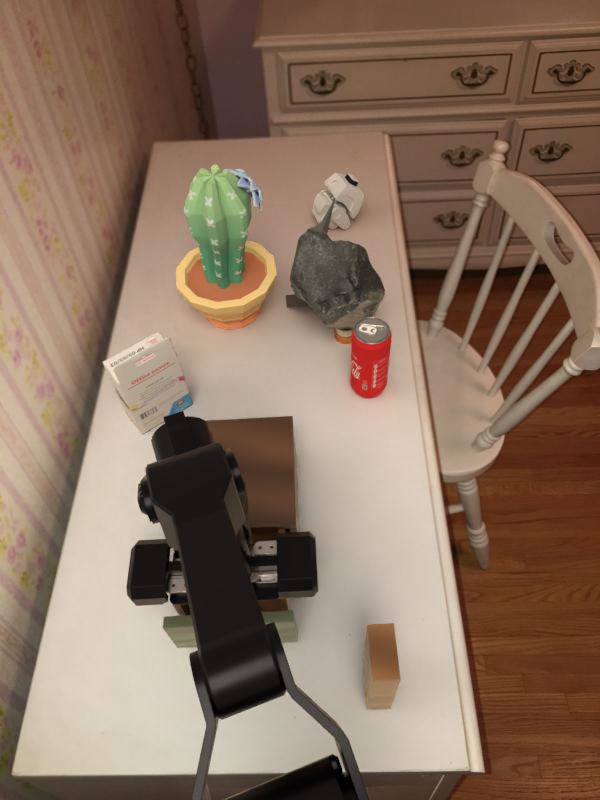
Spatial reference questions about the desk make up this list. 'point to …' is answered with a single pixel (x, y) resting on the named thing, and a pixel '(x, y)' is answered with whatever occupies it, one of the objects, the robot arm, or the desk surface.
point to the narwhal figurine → (334, 280)
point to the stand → (380, 666)
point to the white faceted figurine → (339, 200)
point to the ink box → (149, 381)
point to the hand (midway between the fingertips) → (234, 596)
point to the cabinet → (264, 467)
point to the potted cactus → (224, 250)
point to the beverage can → (370, 356)
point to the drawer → (271, 609)
